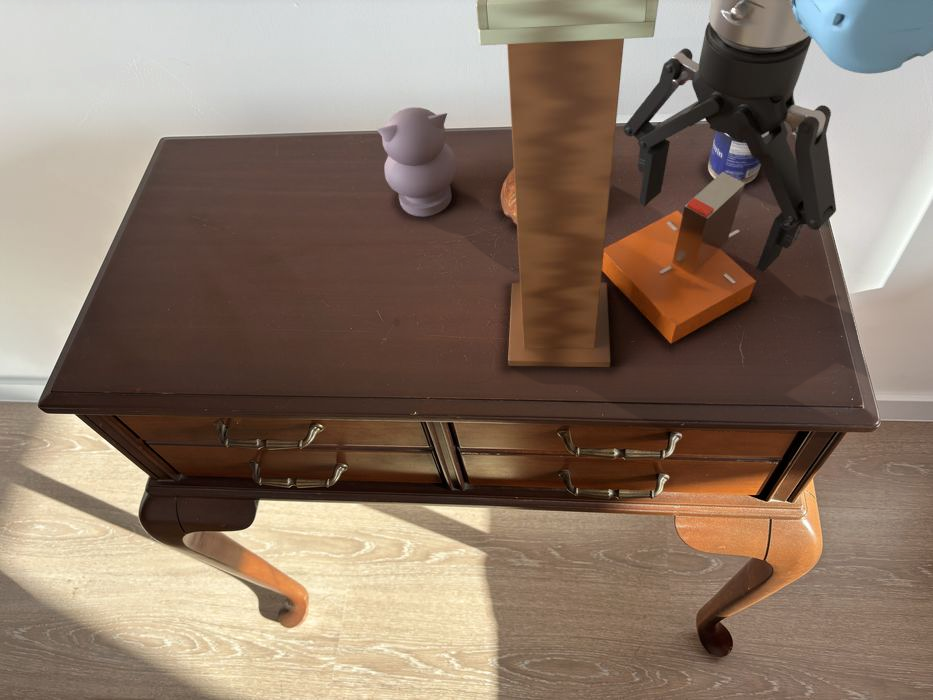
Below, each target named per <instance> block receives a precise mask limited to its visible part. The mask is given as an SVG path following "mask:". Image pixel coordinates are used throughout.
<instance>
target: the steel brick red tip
mask: <svg viewBox="0 0 933 700" xmlns="http://www.w3.org/2000/svg"><path fill="white" fill-rule="evenodd" d="M745 185H746V184H745V183H743V182H741V181H739V180H737V179H736V178H734V177H732V176H730V175H728V174H726V173H724V172H722V173H721V174H720V175H719V176H717V177H716V178H715V179H714V178H713V180H712V181H710V182H709V183H708V184H707V185H706V186H705V187H704V188H703V189H702V190H701V191H700V192H698V193H697V194H696V195H695V196H694V197H693V198H692V199H690V200H689V201H688V202H687V203H686V204H685V205H684V207H683V212H682V215H683V216H682V220H681V225H680V230H679V234H678V239H677V243H676V248H675V252H674V257H673V261H672V263H674V264H675V265H677V266H679V267H680V268H682V269H684V270H685V271H687V272H689V273H690V274H692V275H693V274H694V273H695V272H696V271H697V270H698V269H699V268H700V267H701V266H702V265H703V264H704V263H705V262H706V261H707V260H708V259H709V258H710V257H711V256H713V255H714V254H715V253H716V252H717V251H718V250H719V249H721V248H722V247H723V246H724V245H725V244H726V243H727V242H728V241H729V238H728V237H729V234H730V233H731V230H732V228H733V225H734V222H735V218H736V213H737V211H738V208H739V204H740V201H741V198H742V194H743V192H744V188H745Z"/></svg>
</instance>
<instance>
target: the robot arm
mask: <svg viewBox="0 0 933 700" xmlns="http://www.w3.org/2000/svg"><path fill="white" fill-rule="evenodd" d="M708 21H709V22H707V25H706V27H705V30H704V35H703V42H702V46H701V52H700V57H699V61H698V62H696V61H694V60H693V52H692V51H691V50H690V49H689V48H686V47H685V48H682V49H681V50H680V51H678V52H677V53H676V54H675V55H673V56H672V57H671V58H669V59H668V60H667V61H665V63H664V64H663V66H662V69H661V73H660V77H659V81H658V83H657V84H656V85H655V86H654V87H653V89H652V90H651V91H650V93H649V94H648V95H647V97H645V99H644V101H643V102H642V103H641V104H640V106H638V108H637V110H635V112H634V113H633V114H632V115H631V117H630V118H629V120H627V122H626V124H625V125H624V126H623V133H624V134H625V135H626V136H627V137H634V138H635V139H636V140H637V144H638V146H639V151H638V152H639V153H638V159H637V170H638V171H639V172H641V173H642V178H641V179H642V180H641V185H640V192H639V200H638V204H640V205H641V206H644V207H646V206H647V205H648V204H649V203H650V202H651V201H653V200H654V199H655V198H656V197H658V196H659V194H661V193H662V189H663V184H664V178H665V171H666V166H667V161H668V156H669V151H670V143H671V140H668V138H670V137H672V136H673V135H675V134H677V133H679V132H681V131H683V130H685V129H686V128H688V127H692V126H693V125H696V124H697V123H700V122H701V121H703V120H705V121H706V122H707V124H709V129H711V130H712V131H715V132H716V131H717V132H722V133H726V134H728V135H729V136H730V137H731V138H733V139H734V140H736V141H738V142H741V143H742V142H743V141H746V144H747V146H748V148H749V150H750V153H751V155H752V156H753V157H756V158H758V160H759V162H760V164H761V166H760V167H761V169H762V171H763V173H764V176H765V178H766V180H767V182H768V184H769V187H770V189H771V191H772V193H773V196H774V198H775V200H776V202H777V205H778V207H779V210H780V213H779V214H778V215H777V216H776V217H775V218H774V219H773V222H772V225H771V228H770V230H769V232H768V236H767V237H766V238H767V239H766V241H765V243H764V246H763V249H762V251H761V254H760V257H759V259H758V262H757V264H756V267H755V269H756V270H757V271H759V272H761V273H764V272H765V271H766V270H767V269H769V268H770V266H771V265H772V264H773V263H774V262H775V261H776V260H777V259H778V258H779V257H780V256H781V253H782V251H783V248H784V249H787V250H788V248H790V247H791V246H792V245H793V244H794V243H795V242H796V241H797V240H798V239H799V238H800V235H801V233H802V231H803V229H804V227H805V225H807V227H808V228H809V229H811V230H812V231H818V230H820V229H821V228H822V227H823V226H824V224H826V222H828V221H829V219H831V217H832V216H833V215H834V214H835V213H836V212H837V204H836V197H835V190H834V183H833V182H834V181H833V174H832V168H831V161H830V153H829V145H828V138H827V131H828V128H829V124H830V120H831V116H832V110H831V109H830V108H829V107H828V106H826V105H823V104H822V105H821V104H820V105H818V106H817V107H816V108H815V109H814V110H813V109H810V108H807V107H803V106H800V105H797V104H796V103H795V98H794V92H795V88H796V86H797V83H798V81H799V78H800V75H801V74H802V73H801V72H802V69H803V66H804V63H805V61H806V57H807V54H808V52H809V48H810V46H811V42H812V40H814V42H815V43H816V44H817V46H818V47H819V48H820V49H821V51H822V53H824V55H825V56H826V57H827V58H828V60H830V61H831V62H832V63H833V64H834V65H836V66H837V67H838V68H841V69H843V70H845V71H848V72H852V73H857V74H865V75H866V74H868V75H869V74H871V75H872V74H882V73H886V72H890V71H895V70H898V69H900V68H901V67H902V66H903V64H904V63H906V62H908V61H911V60H912V59H914V58H917V57H925V56H927V55H929V54H930V53H932V52H933V0H711V2H710V8H709V13H708ZM689 81H691V85H692V86H691V87H692V88H693V91H694V93H695V96H696V98H697V101H695V102H693V103H691V104H690V105H688V106H686V107H685V108H683V109H681V110H679V111H678V112H676V113H675V114H673V115H671V116H670V117H668V118H666V119H664V120H663V121H660V122H658V123H657V124H656V125H654V124H652V123H651V120H652V119H653V118H654V116H655V115H656V114H657V113H658V112H659V110H660V109H661V108H662V107H663V106H664V105H665V103H666V102H667V101H668V100H669V99H670V98H671V96H672V95H673V94H674V93H675V92H676V90H677V89H678V88H679V87H680V86H684V85H685V84H687V82H689ZM785 122H786V123H787V124H789V126H790V128H791V133H790V138H791V139H792V140H793V141H794V140H795V143H794V154H795V156H794V154H793V151H792V149H791V147H790V145H789V142H788V136H789V132H788V128H787V126H786V124H785ZM768 131H769V134H768V136H767V137H766V138H765V139H763V138H762V135H763V134H765V133H767V132H768Z"/></svg>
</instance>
